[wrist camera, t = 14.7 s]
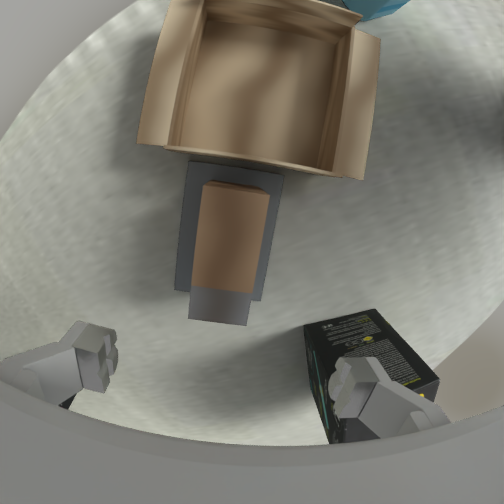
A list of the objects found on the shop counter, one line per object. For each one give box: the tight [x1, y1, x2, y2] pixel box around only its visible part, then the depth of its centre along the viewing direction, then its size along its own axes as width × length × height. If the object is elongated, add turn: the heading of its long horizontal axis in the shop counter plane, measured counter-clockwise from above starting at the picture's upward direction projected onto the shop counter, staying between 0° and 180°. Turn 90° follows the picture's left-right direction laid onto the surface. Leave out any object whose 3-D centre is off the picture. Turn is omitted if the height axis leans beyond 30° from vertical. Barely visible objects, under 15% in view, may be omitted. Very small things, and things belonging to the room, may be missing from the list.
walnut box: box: [188, 180, 270, 326], centre depth 25 cm, size 4×10×8 cm, turn 171°
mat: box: [174, 161, 284, 301], centre depth 29 cm, size 9×13×1 cm
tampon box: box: [304, 309, 440, 444], centre depth 27 cm, size 11×9×15 cm
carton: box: [136, 0, 381, 181], centre depth 21 cm, size 19×15×8 cm
